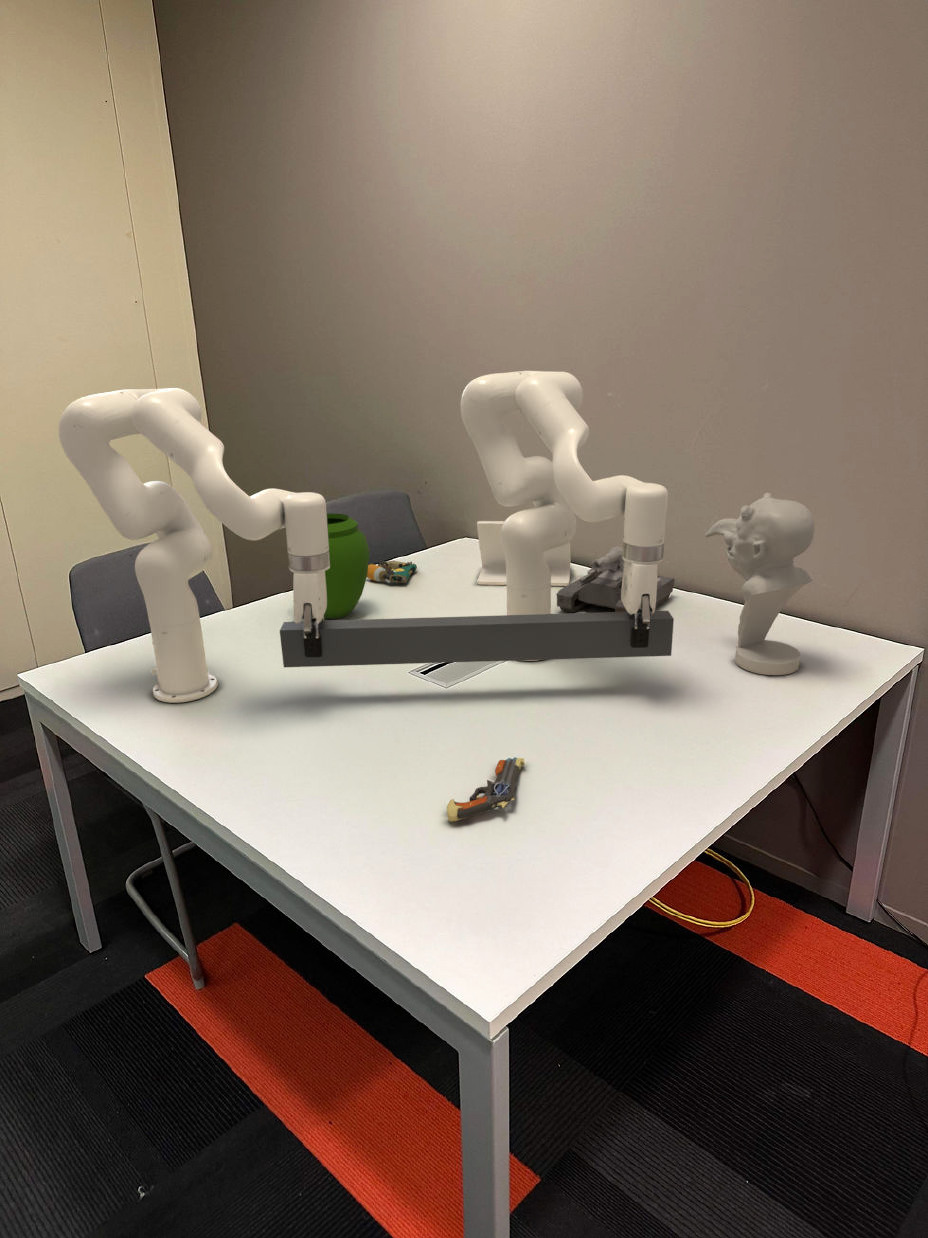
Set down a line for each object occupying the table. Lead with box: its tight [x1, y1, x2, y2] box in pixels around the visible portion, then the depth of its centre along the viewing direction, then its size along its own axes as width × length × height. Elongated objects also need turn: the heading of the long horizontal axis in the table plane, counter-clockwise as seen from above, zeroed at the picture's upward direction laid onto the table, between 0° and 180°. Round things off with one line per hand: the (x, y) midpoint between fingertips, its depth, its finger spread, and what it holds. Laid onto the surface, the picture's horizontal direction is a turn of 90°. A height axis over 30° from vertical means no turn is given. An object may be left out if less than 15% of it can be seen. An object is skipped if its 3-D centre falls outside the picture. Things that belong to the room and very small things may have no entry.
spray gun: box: [366, 560, 418, 584], centre depth 241 cm, size 4×17×15 cm
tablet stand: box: [476, 520, 572, 587], centre depth 236 cm, size 18×25×17 cm
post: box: [279, 610, 675, 668], centre depth 164 cm, size 74×4×8 cm, turn 91°
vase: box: [292, 512, 370, 620], centre depth 209 cm, size 20×20×24 cm
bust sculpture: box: [704, 492, 816, 676], centre depth 176 cm, size 16×24×35 cm, turn 28°
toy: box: [556, 546, 676, 613], centre depth 212 cm, size 25×20×15 cm
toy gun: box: [446, 756, 526, 822], centre depth 134 cm, size 3×19×10 cm
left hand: (315, 650), depth 164 cm, fingers closed on post, 4 cm apart
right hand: (636, 640), depth 165 cm, fingers closed on post, 4 cm apart
